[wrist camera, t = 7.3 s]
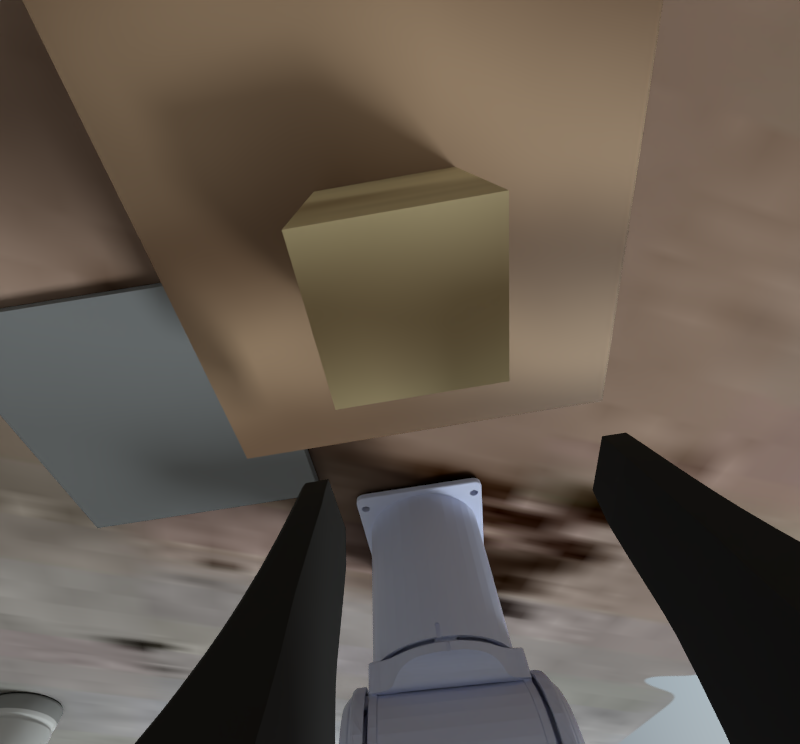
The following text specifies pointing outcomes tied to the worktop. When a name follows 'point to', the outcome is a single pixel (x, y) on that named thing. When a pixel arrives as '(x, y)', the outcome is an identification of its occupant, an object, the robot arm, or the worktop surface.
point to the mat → (129, 411)
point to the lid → (372, 195)
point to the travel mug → (27, 718)
